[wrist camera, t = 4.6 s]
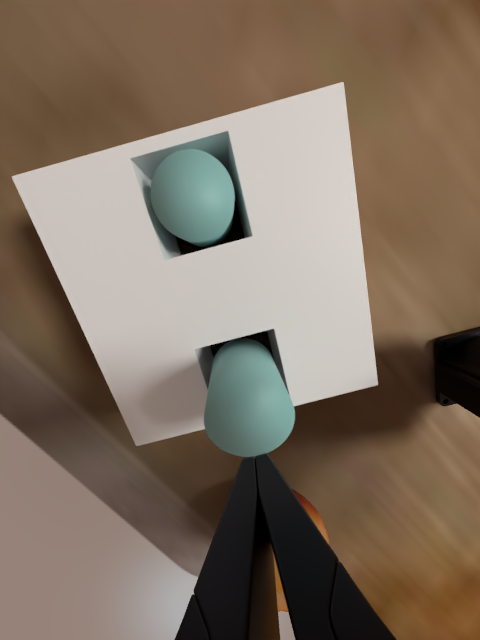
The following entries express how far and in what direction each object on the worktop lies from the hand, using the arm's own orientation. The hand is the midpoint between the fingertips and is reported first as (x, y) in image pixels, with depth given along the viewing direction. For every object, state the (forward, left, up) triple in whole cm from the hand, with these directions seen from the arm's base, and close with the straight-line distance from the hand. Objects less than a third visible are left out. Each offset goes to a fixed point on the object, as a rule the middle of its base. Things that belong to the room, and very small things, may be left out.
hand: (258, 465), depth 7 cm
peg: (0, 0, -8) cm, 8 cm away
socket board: (0, -5, -12) cm, 12 cm away
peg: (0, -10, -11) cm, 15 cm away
